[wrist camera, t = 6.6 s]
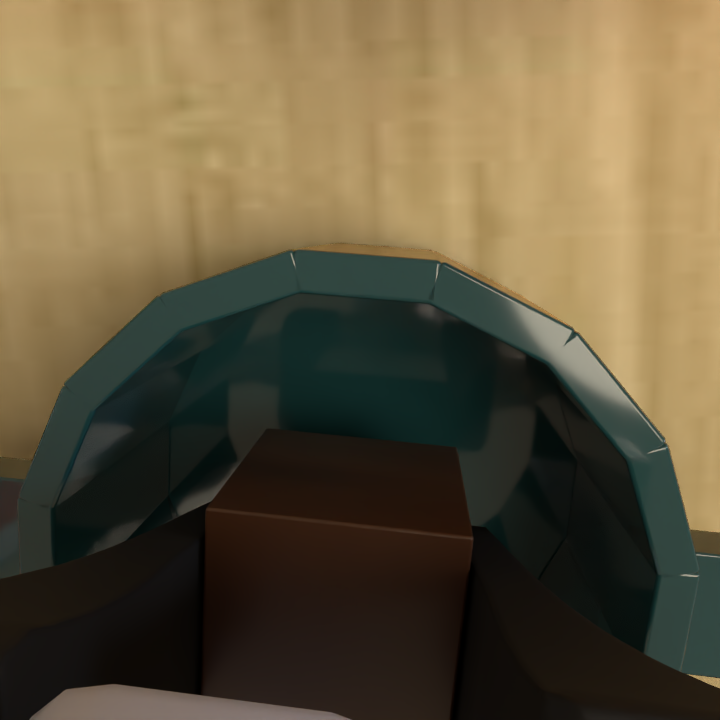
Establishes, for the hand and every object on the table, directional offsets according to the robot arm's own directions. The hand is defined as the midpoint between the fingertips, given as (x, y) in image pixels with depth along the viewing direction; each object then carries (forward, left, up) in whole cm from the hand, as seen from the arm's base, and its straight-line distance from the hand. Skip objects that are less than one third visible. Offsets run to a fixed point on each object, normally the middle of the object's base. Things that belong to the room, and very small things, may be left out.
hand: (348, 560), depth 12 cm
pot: (0, 0, -5) cm, 5 cm away
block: (0, 0, -1) cm, 1 cm away
